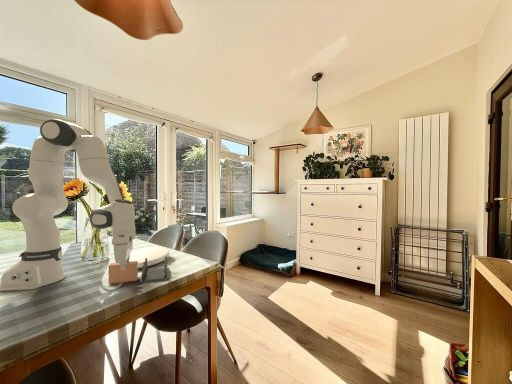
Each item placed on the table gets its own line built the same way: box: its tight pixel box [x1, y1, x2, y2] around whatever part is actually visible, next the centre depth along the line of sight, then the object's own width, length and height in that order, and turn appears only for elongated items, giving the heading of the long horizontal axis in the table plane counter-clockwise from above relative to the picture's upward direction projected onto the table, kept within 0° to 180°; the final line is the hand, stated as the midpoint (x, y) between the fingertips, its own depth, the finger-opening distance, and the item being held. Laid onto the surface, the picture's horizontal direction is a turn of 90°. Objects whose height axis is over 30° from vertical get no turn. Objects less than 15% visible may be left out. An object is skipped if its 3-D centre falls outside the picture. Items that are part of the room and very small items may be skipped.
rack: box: [139, 256, 170, 284], centre depth 108 cm, size 12×13×7 cm
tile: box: [108, 261, 139, 285], centre depth 102 cm, size 11×3×8 cm, turn 110°
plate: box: [113, 246, 170, 269], centre depth 127 cm, size 28×6×27 cm
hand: (125, 266), depth 102 cm, fingers open, 8 cm apart
